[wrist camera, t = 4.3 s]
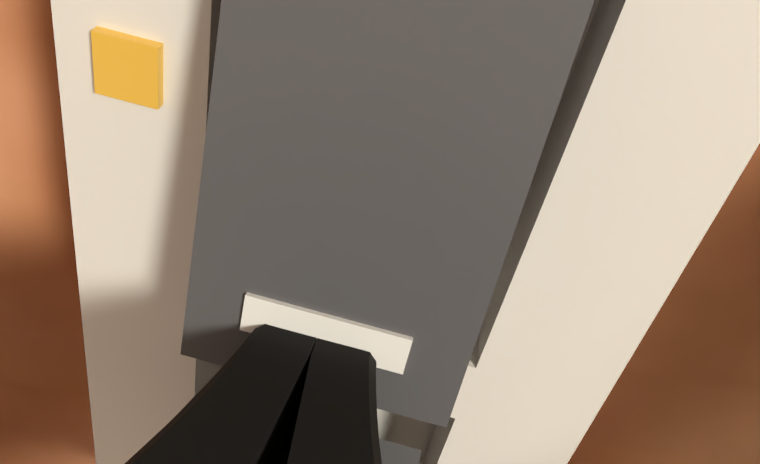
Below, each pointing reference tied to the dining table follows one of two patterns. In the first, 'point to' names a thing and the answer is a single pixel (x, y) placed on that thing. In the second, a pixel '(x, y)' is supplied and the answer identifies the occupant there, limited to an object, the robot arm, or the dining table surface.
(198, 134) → the power strip
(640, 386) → the dining table surface
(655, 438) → the dining table surface
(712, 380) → the dining table surface
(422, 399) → the rocker middle
